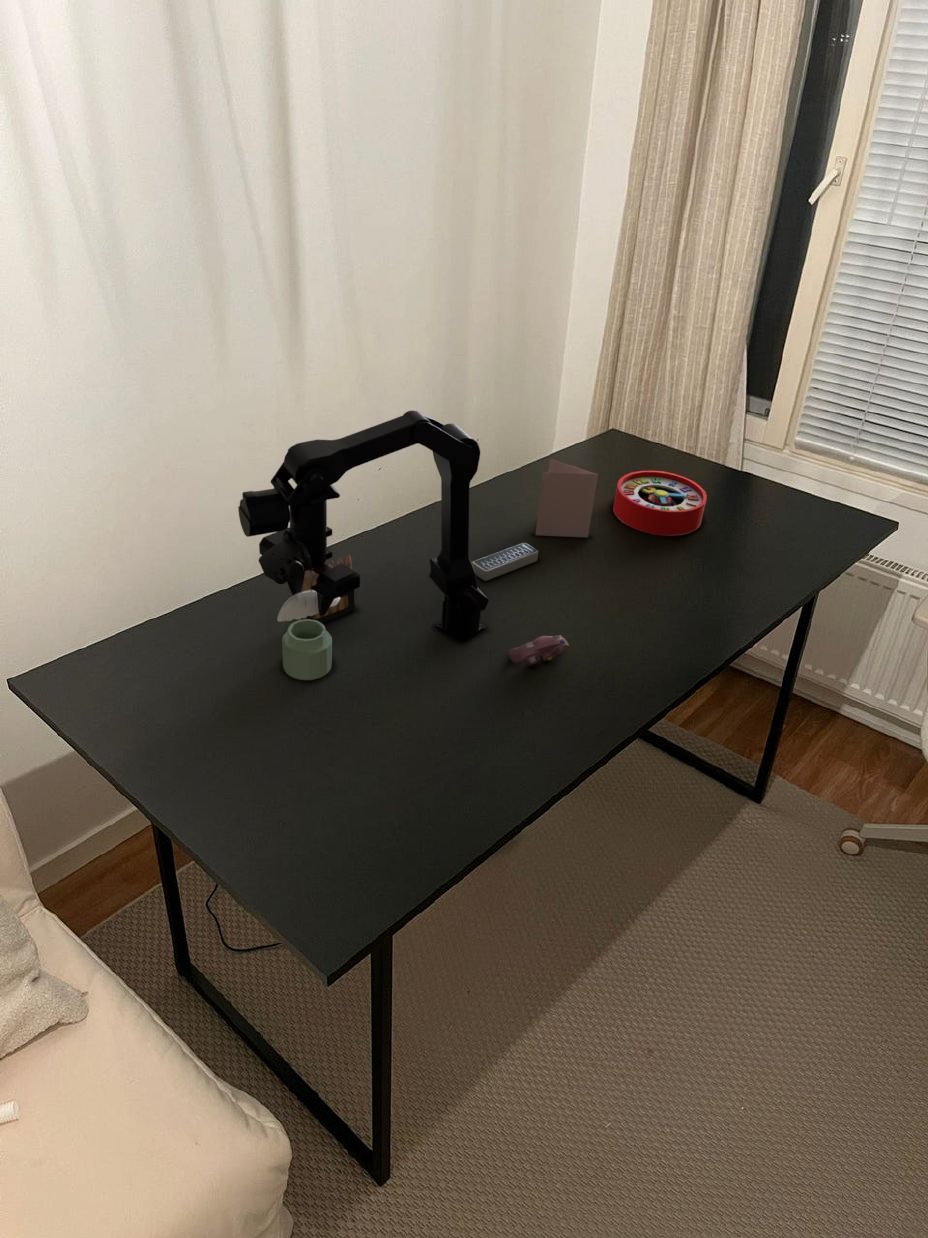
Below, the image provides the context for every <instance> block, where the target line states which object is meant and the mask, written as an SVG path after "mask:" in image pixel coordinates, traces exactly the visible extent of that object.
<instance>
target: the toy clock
mask: <svg viewBox="0 0 928 1238" xmlns="http://www.w3.org/2000/svg"><path fill="white" fill-rule="evenodd" d="M707 498H708V497H707V493H706V491H705V489H704V488H702V487H701V485H699V484H698V482H697V483H696V482H695V481H694V480H691V479H689V478H687V477H685V476H682V475H679V474H676V473H672V472H667V471H662V470H661V471H660V470H638V471H633V472H629V473H627V474H624V475H623V476H622V477H620V478H619V480H618V481H617V485H616V489H615V497H614V501H613V508H612V509H613V510H612V511H613V513H614V515H615V516H616V517H617V519H618V520H619V521H620V522H621V523H623V524H625V525H626V526H628V527H630V528H632V529H634V530H637V531H640V532H642V533H646V534H651V535H656V536H665V537H666V536H667V537H668V536H669V537H675V536H682V535H687V534H690V533H692V532H694V531H696V530H697V529H698V528H700V526H701V524H702V520H703V516H704V512H705V508H706V503H707Z"/></svg>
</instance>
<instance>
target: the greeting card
mask: <svg viewBox="0 0 928 1238" xmlns="http://www.w3.org/2000/svg"><path fill="white" fill-rule="evenodd" d="M598 476H599V474H597V473H595V472H591V471H589V470H585V469H582V468H580V467H577V466H574V465H571V464H567V463H564V462H561V461H559V460H555V459H553V458H549V462H548V469H547V471H543V473H542V480H541V488H540V496H539V503H538V513H537V520H536V528H535V536H545V537H547V536H548V537H569V538H588V537H589V532H590V527H591V522H592V521H591V520H592V514H593V509H594V502H595V496H596V489H597V482H598V478H599V477H598Z"/></svg>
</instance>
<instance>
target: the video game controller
mask: <svg viewBox="0 0 928 1238" xmlns="http://www.w3.org/2000/svg"><path fill="white" fill-rule="evenodd" d="M569 648H570V645H569V643H568V641H567V639H565V638H564V637H563V635H562V634H558V635H541V636H539V637H537V638H536V639H534V640H532V641H529V642H526V643H524V644H522V645H520V646H518V647H512V648H511V649H510V650H509V651H508V657H509V660H510V661H511V662H513V663H515V664H521V663H523V664H527V665H528V666H533V665H535V664H537V663H538V662H540V659H541V658H542V660H543V662H548V661H551V660H553V659H554V658H555V657H557V656H559V655H561V654H563V653H565V652H566V651H568V650H569ZM540 656H541V658H540Z"/></svg>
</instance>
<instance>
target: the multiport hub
mask: <svg viewBox="0 0 928 1238" xmlns="http://www.w3.org/2000/svg"><path fill="white" fill-rule="evenodd" d="M538 557H539V550H538V549H537V548H535V547H533V546H532V545H530V544H529V543H527V542H521V543H519V544H516V545H514V546H510V547H508V548H506V549H505V548H504V549H502V550H500V551H498V552H495V553H492V554H489V555H487V556H484V557H481V558H478V559H476V560H473V561H472V562H471V563H472V566H473V568H474V571H475V575H476V577H477V578H479V579H481V580H483V581H485V582H486V581H489V580H493V579H494V578H497V577H500V576H502V575H505V574H507V573H510V572H513V571H515V570H518V569H521V568H523V567H525V566H528V565H530V564H533V563H535V562H537V561H538Z"/></svg>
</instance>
